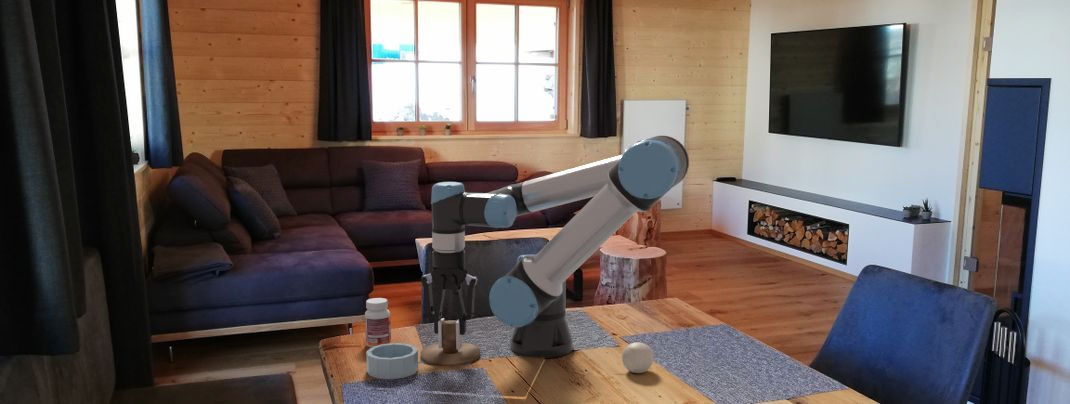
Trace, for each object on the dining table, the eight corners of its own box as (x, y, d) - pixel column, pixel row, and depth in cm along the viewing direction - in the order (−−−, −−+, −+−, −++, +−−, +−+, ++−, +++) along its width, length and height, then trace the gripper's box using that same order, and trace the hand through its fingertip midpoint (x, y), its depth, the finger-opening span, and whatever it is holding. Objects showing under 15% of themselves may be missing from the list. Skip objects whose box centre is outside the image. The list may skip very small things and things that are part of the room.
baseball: (659, 370, 193) (660, 342, 192) (641, 379, 187) (642, 350, 186) (634, 364, 197) (635, 336, 196) (616, 372, 191) (616, 343, 190)
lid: (486, 347, 207) (486, 315, 206) (472, 367, 193) (471, 333, 192) (430, 344, 209) (429, 312, 208) (412, 363, 196) (411, 329, 195)
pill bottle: (395, 346, 210) (394, 301, 208) (371, 350, 207) (370, 305, 205) (385, 339, 215) (383, 295, 213) (361, 344, 212) (360, 299, 210)
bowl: (423, 365, 196) (423, 344, 195) (408, 382, 185) (408, 360, 184) (378, 362, 198) (377, 342, 197) (360, 379, 187) (359, 357, 186)
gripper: (487, 247, 200) (488, 344, 203) (419, 244, 203) (421, 340, 206) (480, 254, 192) (481, 354, 196) (408, 251, 195) (411, 350, 199)
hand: (450, 346), depth 201 cm, fingers closed on lid, 4 cm apart
